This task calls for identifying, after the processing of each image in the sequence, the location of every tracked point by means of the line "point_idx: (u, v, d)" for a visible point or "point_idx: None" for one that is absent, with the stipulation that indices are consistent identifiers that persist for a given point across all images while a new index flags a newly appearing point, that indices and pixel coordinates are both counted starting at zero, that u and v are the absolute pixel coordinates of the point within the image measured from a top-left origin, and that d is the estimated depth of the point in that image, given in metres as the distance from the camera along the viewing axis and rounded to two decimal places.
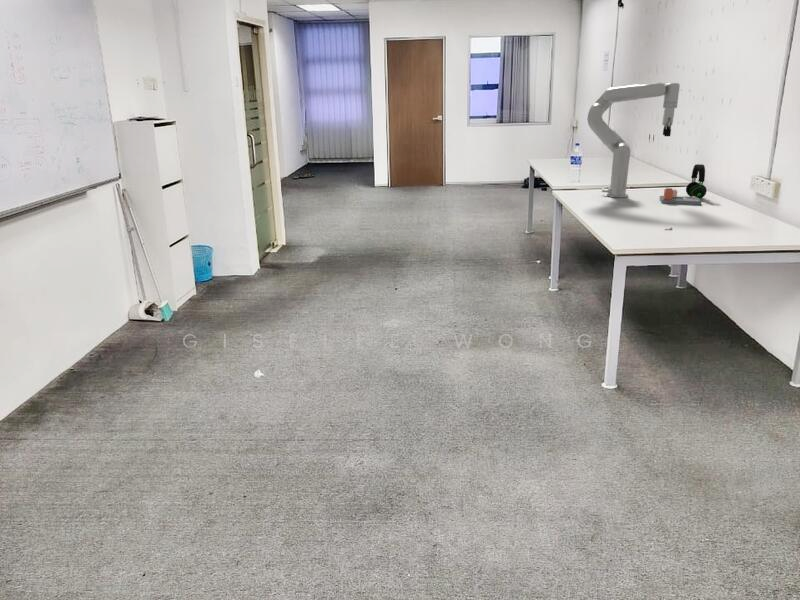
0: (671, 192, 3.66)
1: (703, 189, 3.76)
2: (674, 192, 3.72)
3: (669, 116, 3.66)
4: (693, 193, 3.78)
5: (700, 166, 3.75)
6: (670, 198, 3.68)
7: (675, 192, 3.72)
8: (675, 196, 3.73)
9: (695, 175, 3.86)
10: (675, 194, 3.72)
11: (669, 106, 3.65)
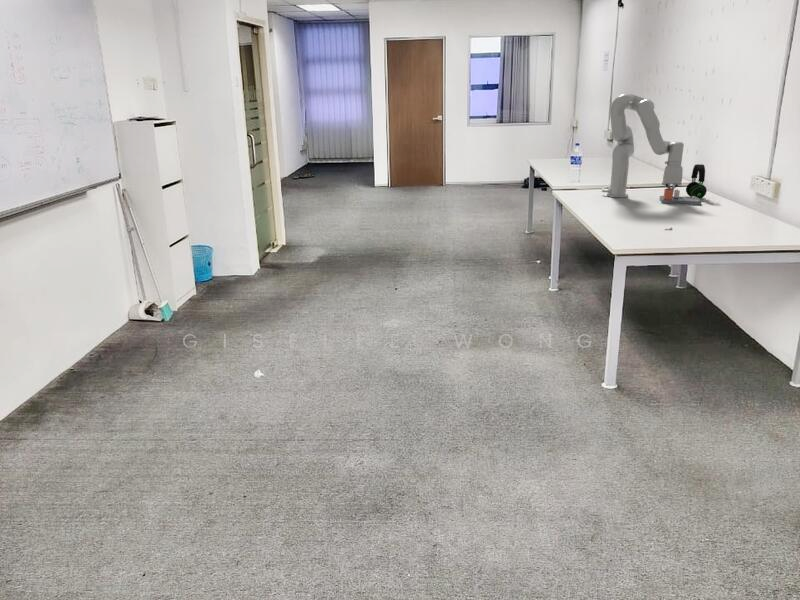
0: (671, 192, 3.66)
1: (703, 189, 3.76)
2: (676, 192, 3.72)
3: None
4: (693, 193, 3.78)
5: (700, 166, 3.75)
6: (670, 198, 3.68)
7: (677, 192, 3.72)
8: (677, 196, 3.72)
9: (695, 175, 3.86)
10: (677, 194, 3.72)
11: None
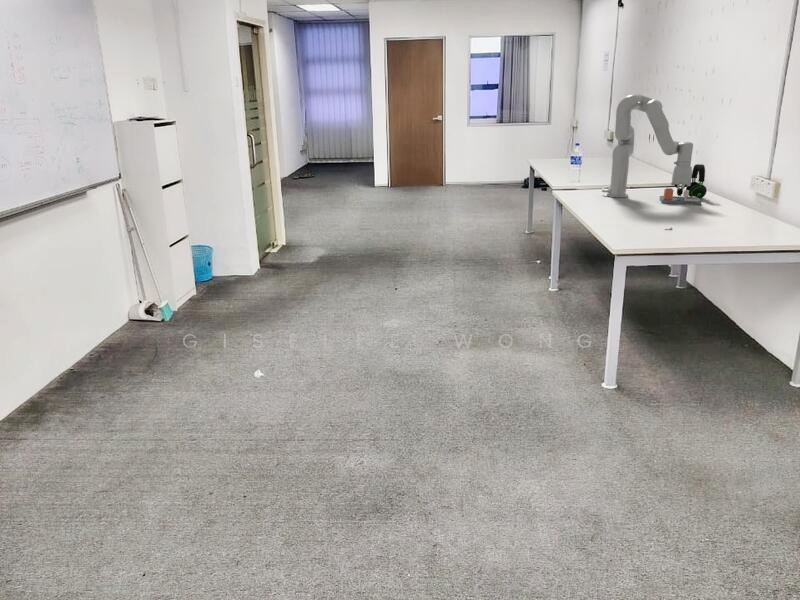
0: (671, 192, 3.66)
1: (703, 189, 3.76)
2: (686, 192, 3.70)
3: (691, 174, 3.68)
4: (693, 193, 3.78)
5: (700, 166, 3.75)
6: (670, 198, 3.68)
7: (687, 192, 3.70)
8: (687, 196, 3.71)
9: (695, 175, 3.86)
10: (687, 194, 3.71)
11: None
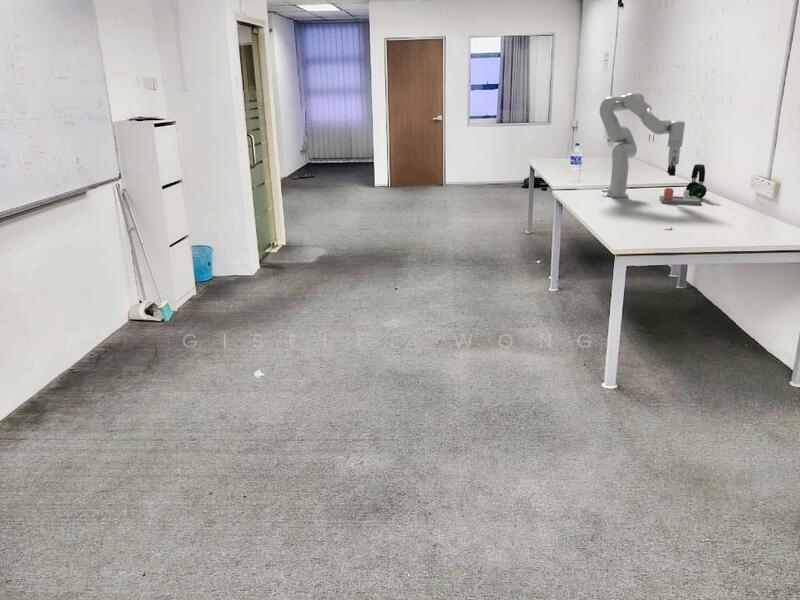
0: (671, 192, 3.66)
1: (703, 189, 3.76)
2: (686, 192, 3.70)
3: None
4: (693, 193, 3.78)
5: (700, 166, 3.75)
6: (670, 198, 3.68)
7: (687, 192, 3.70)
8: (687, 196, 3.71)
9: (695, 175, 3.86)
10: (687, 194, 3.71)
11: None
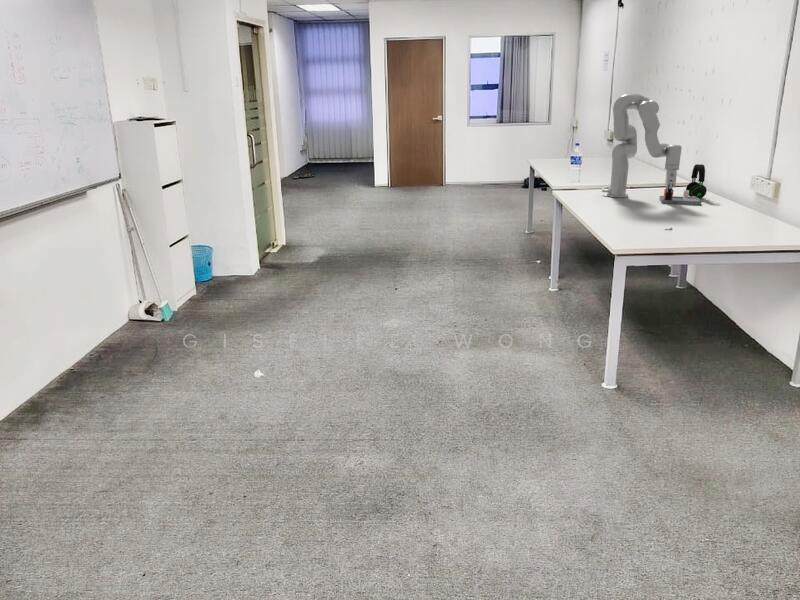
0: None
1: (703, 189, 3.76)
2: (686, 192, 3.70)
3: None
4: (693, 193, 3.78)
5: (700, 166, 3.75)
6: None
7: (687, 192, 3.70)
8: (687, 196, 3.71)
9: (695, 175, 3.86)
10: (687, 194, 3.71)
11: None
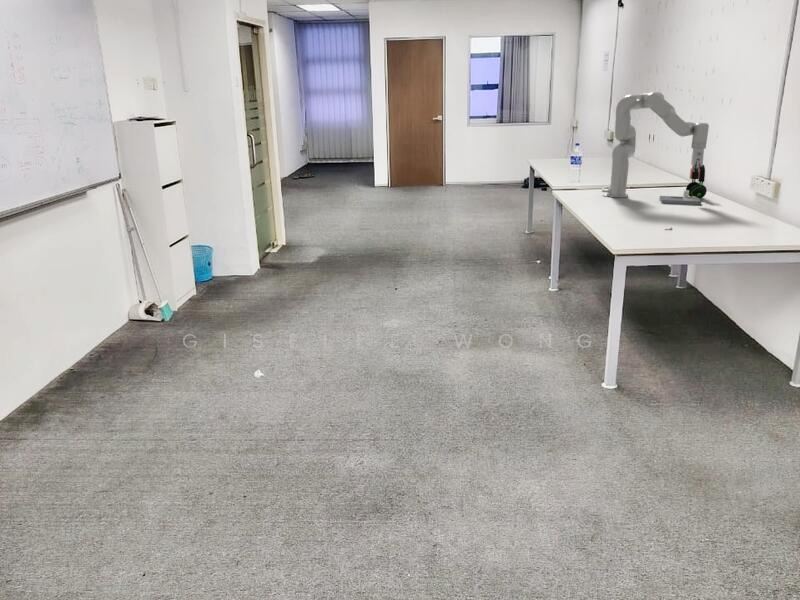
0: None
1: (703, 189, 3.76)
2: (686, 192, 3.70)
3: None
4: (693, 193, 3.78)
5: (700, 166, 3.75)
6: None
7: (687, 192, 3.70)
8: (687, 196, 3.71)
9: None
10: (687, 194, 3.71)
11: None
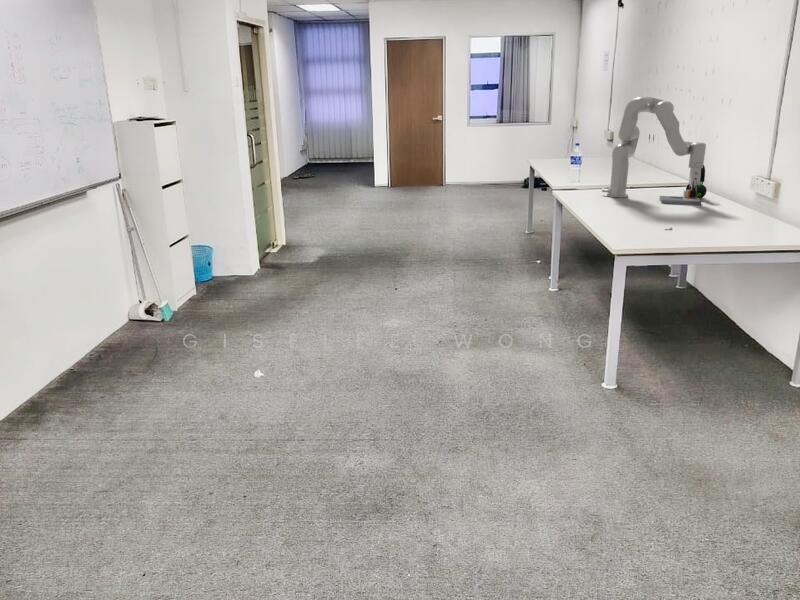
0: None
1: (703, 189, 3.76)
2: (686, 192, 3.70)
3: None
4: None
5: None
6: None
7: None
8: None
9: None
10: None
11: None
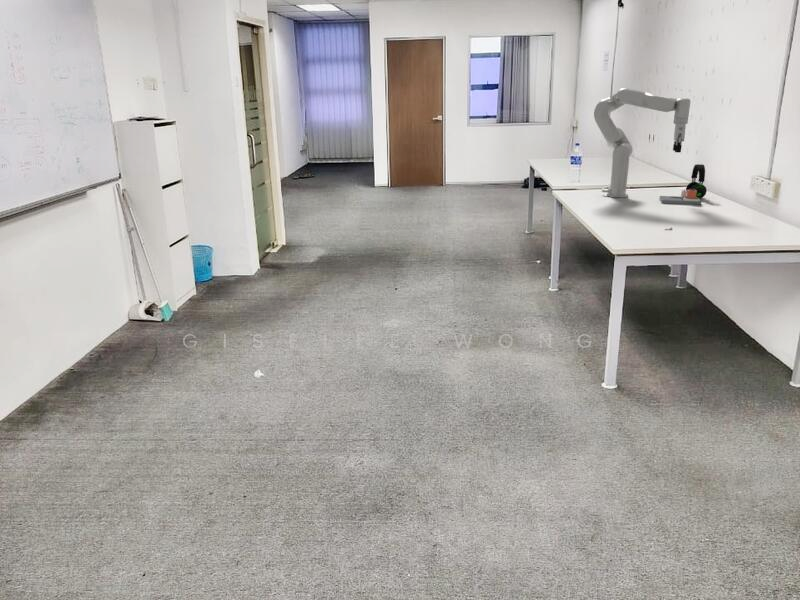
0: (694, 193, 3.63)
1: (703, 189, 3.76)
2: (683, 192, 3.71)
3: None
4: None
5: (700, 166, 3.75)
6: None
7: (684, 192, 3.71)
8: None
9: (695, 175, 3.86)
10: (684, 194, 3.71)
11: None
